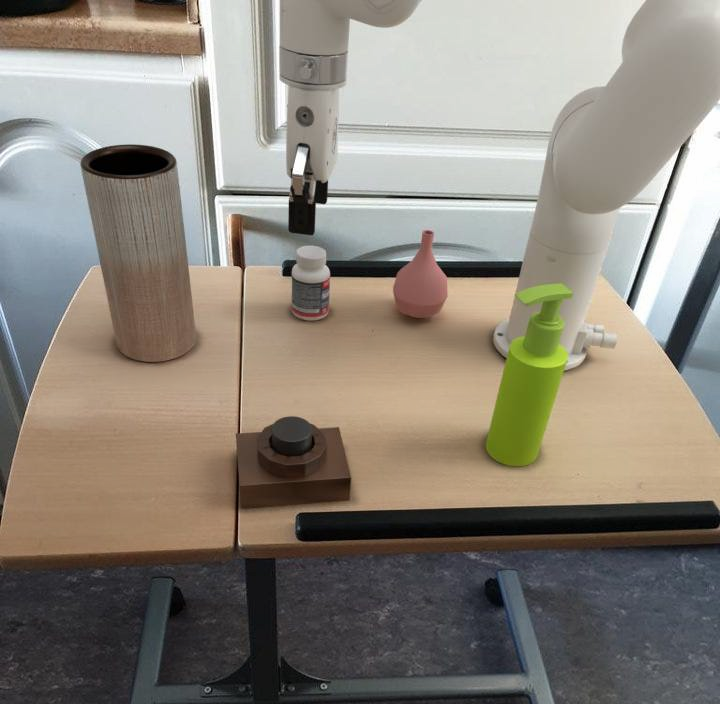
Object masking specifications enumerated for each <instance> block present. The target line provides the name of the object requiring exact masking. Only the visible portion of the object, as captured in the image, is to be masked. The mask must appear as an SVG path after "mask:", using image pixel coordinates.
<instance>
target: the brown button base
mask: <svg viewBox="0 0 720 704" xmlns="http://www.w3.org/2000/svg"><path fill="white" fill-rule="evenodd" d="M273 424H274V423H271V424H270V425H267V426H265V427H264V428H263V429H262V430H261V431H255V432H253V431H252V432H239V433H238V432H237V433H235V444H236V456H237V457H236V458H237V471H238V483H239V495H240V497H239V498H240V509H254V508H265V507H266V508H267V507H268V508H269V507H278V506H291V505H293V506H294V505H303V504H316V503H317V504H318V503H330V502H342V501H350V499H351V498H350V497H351V486H352V475H351V470H350V466H349V462H348V459H347V455H346V450H345V445H344V442H343V437H342V434H341V430H340V427H339V426H336V427H334V426H333V427H320V428H319V427H317V426H316V425H315V424H314V423H310V424H311V426H312V446H311V449H310V450H309V451H308V452H307V453H306V454H304V455H302V456H292V457H287V456H284V455H280V454H278V453H277V452H276V451H275V450H274V449H273V447H272V426H273Z"/></svg>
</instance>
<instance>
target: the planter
mask: <svg viewBox="0 0 720 704" xmlns="http://www.w3.org/2000/svg"><path fill="white" fill-rule="evenodd" d="M177 161H178V160H177V159H176V156H175V155H173V154H172V152H170V151H168V150H166V149H164V148H160V147H157V146H153V145H145V144H134V143H133V144H130V143H129V144H113V145H108V146H103V147H100V148H96V149H93V150H92V151H89V152H88V153H86V154H84V156H82V158H81V160H80V164H79V165H80V170H81V176H82V181H83V185H84V190H85V195H86V200H87V204H88V210H89V215H90V221H91V226H92V229H93V235H94V239H95V244H96V249H97V255H98V259H99V264H100V268H101V275H102V279H103V284H104V289H105V295H106V299H107V305H108V308H109V313H110V319H111V324H112V328H113V334H114V338H115V339H114V340H115V342H116V345H117V348H118V350H119V352H121V353H122V354H123V355H124V356H126V357H128V358H129V359H133V360H136V361H141V362H147V363H156V362H157V363H158V362H166V361H170V360H171V361H172V360H173V359H176V358H179V357H181V356H183V355H185V354H186V353H188V352H189V351H191V350H192V349H193V347H194V346H195V344H196V341H197V334H196V333H197V332H196V323H195V322H196V321H195V313H194V304H193V295H192V286H191V285H192V284H191V277H190V268H189V257H188V249H187V241H186V240H187V239H186V232H185V224H184V213H183V206H182V195H181V187H180V179H179V170H178V169H179V168H178V162H177Z"/></svg>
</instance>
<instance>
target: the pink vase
mask: <svg viewBox="0 0 720 704" xmlns="http://www.w3.org/2000/svg"><path fill="white" fill-rule="evenodd" d="M434 235H435V232H434V231H433V230H430V229H425V230H422V233H421V240H420V248H419V249H418V252H416V254H415V255H414V257H413V258H412V260H410V261H409V262H408V263H407V264H405V265H404V266H403V267H402V268H400V269H399V271H397V273H396V277H395V280H394V283H393V287H392V293H393V298H394V303H395V307H396V308H397V310H398V311H399V312H401V313H402V314H404V315H407V316H409V317H412V318H416V319H421V318H430V317H435V316H436V315H438V314H439V313H441V310H442V308H443V307H444V305H445V303H446V301H447V299H448V296H449V293H448V277H447V275H446V274H445V273H444V271H443V270H442V269H441V267H440V266H439V265H438V263H437V261H436V258H435V255H434V252H433V244H434Z"/></svg>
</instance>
